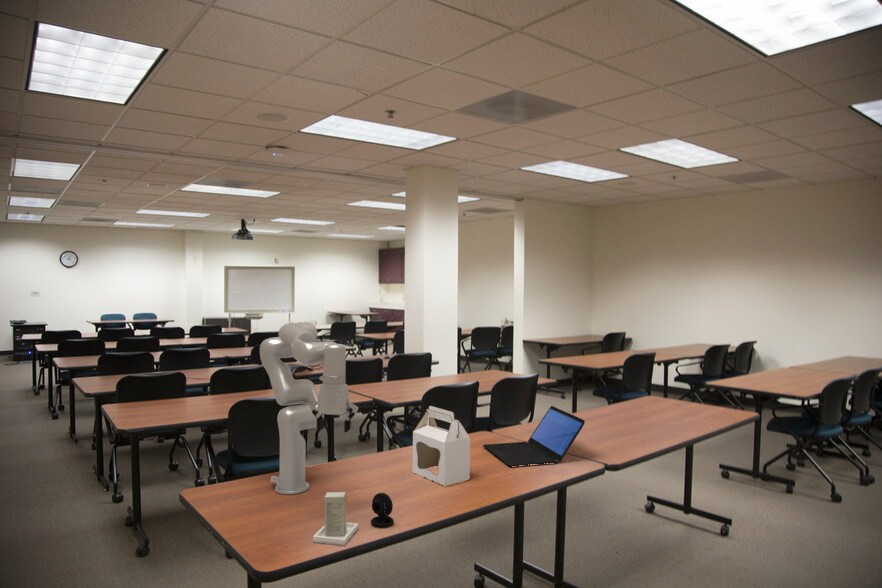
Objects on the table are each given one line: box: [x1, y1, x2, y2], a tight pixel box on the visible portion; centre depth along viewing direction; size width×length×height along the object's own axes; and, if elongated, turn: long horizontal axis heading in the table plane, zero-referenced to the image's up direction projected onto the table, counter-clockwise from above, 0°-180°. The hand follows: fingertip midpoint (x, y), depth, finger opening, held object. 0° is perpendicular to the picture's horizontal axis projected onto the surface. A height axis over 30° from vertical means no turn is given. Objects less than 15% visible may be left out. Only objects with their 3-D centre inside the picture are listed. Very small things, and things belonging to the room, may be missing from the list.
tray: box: [312, 521, 359, 547], centre depth 172 cm, size 10×12×2 cm
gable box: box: [412, 405, 471, 486], centre depth 229 cm, size 22×13×28 cm, turn 38°
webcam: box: [370, 492, 395, 529], centre depth 182 cm, size 8×8×10 cm
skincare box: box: [323, 491, 347, 536], centre depth 172 cm, size 6×4×12 cm
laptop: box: [482, 405, 586, 467], centre depth 262 cm, size 33×38×19 cm
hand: (333, 430), depth 189 cm, fingers open, 9 cm apart
